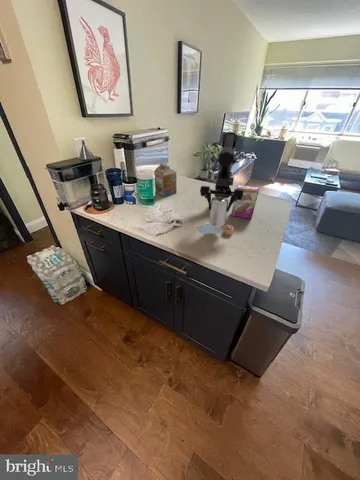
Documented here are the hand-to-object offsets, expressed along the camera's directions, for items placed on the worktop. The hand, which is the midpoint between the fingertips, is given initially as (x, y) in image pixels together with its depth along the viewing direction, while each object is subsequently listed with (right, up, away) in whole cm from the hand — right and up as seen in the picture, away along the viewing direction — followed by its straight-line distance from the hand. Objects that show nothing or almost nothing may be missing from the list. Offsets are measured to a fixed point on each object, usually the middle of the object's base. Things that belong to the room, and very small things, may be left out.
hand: (218, 210), depth 88 cm
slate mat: (-3, -8, +10) cm, 13 cm away
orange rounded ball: (+6, -10, +8) cm, 14 cm away
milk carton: (-27, +20, +49) cm, 59 cm away
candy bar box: (+17, 0, +22) cm, 28 cm away
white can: (0, -5, +5) cm, 7 cm away
